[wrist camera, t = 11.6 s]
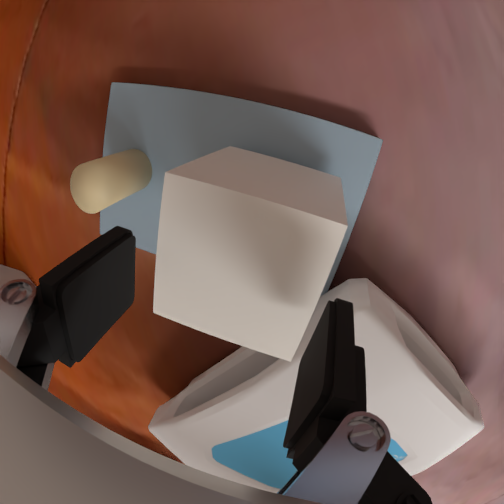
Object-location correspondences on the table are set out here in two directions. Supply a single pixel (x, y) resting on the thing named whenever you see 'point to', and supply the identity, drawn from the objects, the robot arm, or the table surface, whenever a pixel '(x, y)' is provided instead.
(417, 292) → the table surface
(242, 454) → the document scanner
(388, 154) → the table surface
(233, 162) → the matte white cube
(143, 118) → the slate board
